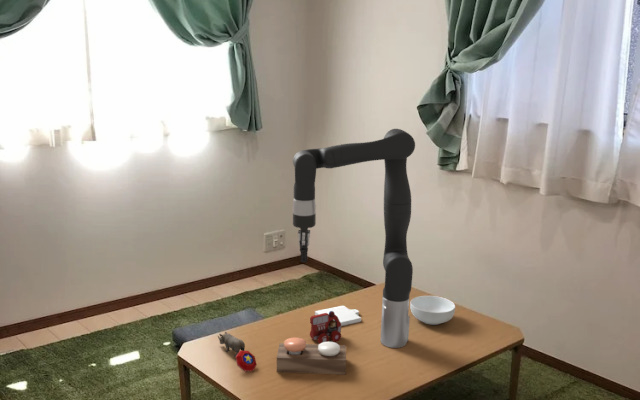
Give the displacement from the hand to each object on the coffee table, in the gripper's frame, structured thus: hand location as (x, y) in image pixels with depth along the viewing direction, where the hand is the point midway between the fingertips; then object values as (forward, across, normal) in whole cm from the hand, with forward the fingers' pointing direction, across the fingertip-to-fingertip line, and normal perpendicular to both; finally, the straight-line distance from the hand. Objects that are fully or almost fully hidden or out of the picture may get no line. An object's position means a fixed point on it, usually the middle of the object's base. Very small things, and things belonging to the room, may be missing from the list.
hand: (303, 261), depth 207 cm
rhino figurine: (+31, -5, +25) cm, 40 cm away
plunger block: (+31, -14, -3) cm, 34 cm away
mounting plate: (+32, +23, -12) cm, 41 cm away
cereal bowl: (+32, +23, -48) cm, 62 cm away
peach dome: (+29, -13, +2) cm, 32 cm away
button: (+31, -16, +18) cm, 39 cm away
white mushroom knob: (+31, -14, -9) cm, 35 cm away
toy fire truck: (+31, +5, -8) cm, 33 cm away
